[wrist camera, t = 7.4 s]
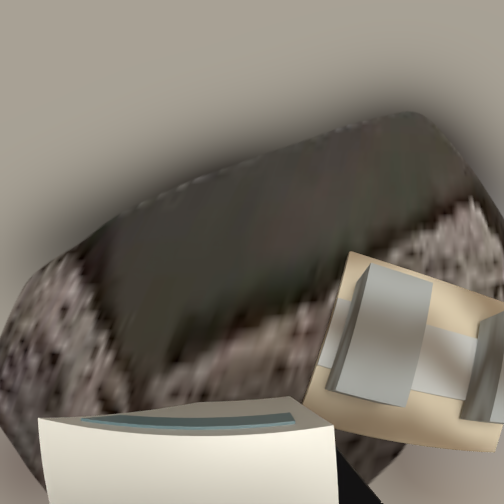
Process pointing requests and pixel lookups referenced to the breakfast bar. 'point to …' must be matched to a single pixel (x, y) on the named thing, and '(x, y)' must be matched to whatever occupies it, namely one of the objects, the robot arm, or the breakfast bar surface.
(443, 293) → the rail board
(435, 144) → the breakfast bar surface
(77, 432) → the module block
